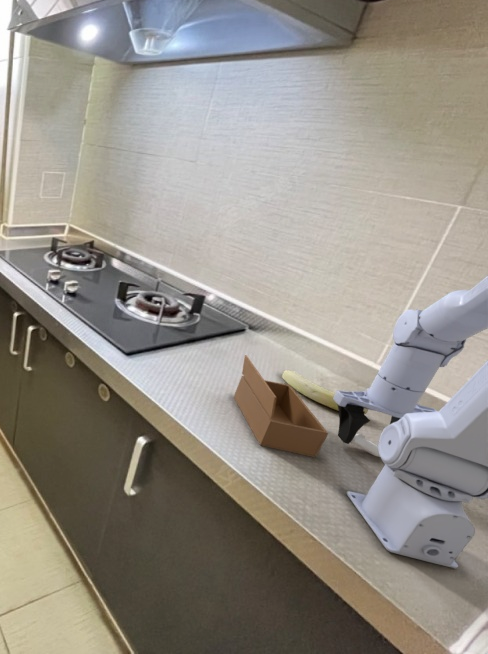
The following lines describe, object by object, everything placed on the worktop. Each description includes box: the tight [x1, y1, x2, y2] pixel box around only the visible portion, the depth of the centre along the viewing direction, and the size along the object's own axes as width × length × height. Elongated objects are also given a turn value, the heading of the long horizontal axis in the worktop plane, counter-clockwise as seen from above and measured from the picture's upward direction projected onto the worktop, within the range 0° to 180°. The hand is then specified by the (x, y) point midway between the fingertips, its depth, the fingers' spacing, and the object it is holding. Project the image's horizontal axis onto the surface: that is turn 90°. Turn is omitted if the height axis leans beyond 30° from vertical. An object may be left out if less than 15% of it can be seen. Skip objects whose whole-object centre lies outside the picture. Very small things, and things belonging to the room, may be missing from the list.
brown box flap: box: [241, 354, 277, 418], centre depth 72 cm, size 14×4×1 cm
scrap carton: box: [233, 375, 329, 458], centre depth 73 cm, size 14×9×5 cm, turn 167°
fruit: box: [281, 369, 369, 415], centre depth 84 cm, size 7×15×3 cm, turn 23°
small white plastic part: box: [349, 433, 380, 458], centre depth 69 cm, size 4×6×3 cm, turn 29°
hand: (364, 444), depth 70 cm, fingers open, 6 cm apart
